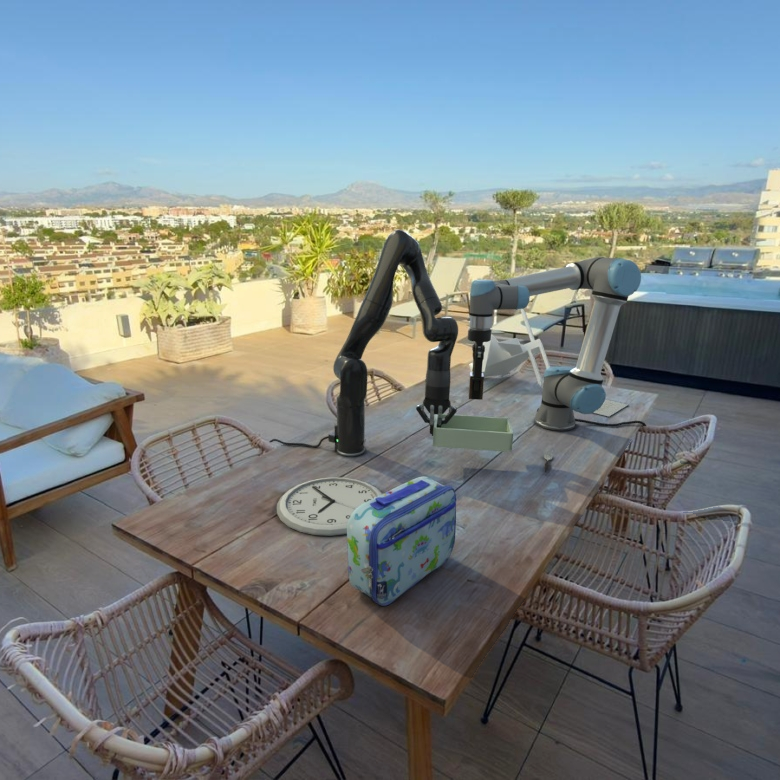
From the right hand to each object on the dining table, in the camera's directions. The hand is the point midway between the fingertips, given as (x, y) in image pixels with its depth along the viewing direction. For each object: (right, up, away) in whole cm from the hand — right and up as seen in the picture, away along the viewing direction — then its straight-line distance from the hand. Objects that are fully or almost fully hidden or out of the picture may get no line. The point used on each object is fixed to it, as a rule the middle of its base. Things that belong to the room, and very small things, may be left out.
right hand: (475, 396), depth 177 cm
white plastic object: (+29, +5, +79) cm, 85 cm away
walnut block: (0, 0, 0) cm, 0 cm away
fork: (+22, -22, -6) cm, 32 cm away
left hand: (-15, -12, -12) cm, 22 cm away
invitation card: (+63, -5, +50) cm, 80 cm away
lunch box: (-26, -39, -63) cm, 78 cm away
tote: (-3, -14, -13) cm, 19 cm away
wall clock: (-45, -29, -34) cm, 63 cm away
